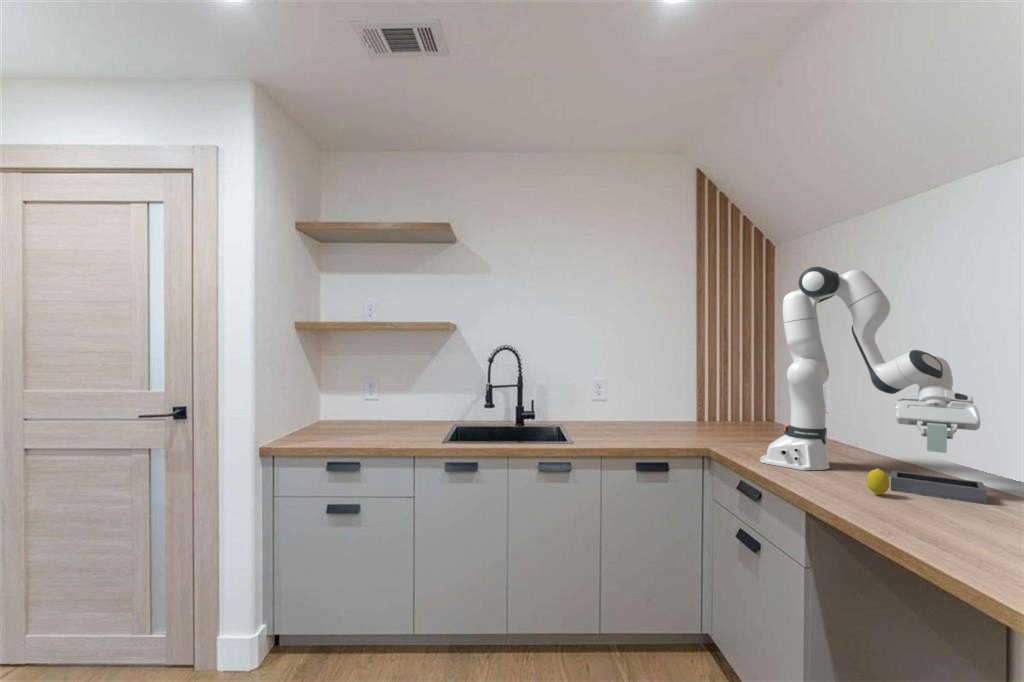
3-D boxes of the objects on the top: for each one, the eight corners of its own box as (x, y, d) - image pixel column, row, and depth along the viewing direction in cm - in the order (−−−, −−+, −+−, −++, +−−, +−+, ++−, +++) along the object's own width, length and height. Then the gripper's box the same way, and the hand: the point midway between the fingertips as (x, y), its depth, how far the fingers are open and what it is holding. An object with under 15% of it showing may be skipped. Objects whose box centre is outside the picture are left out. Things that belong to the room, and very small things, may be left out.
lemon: (867, 491, 161) (868, 465, 161) (889, 495, 157) (890, 468, 157) (865, 495, 156) (865, 468, 156) (888, 499, 153) (888, 471, 153)
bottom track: (890, 490, 162) (890, 477, 162) (891, 482, 170) (891, 470, 170) (986, 504, 149) (987, 490, 149) (982, 495, 157) (982, 482, 157)
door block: (927, 451, 159) (927, 424, 159) (926, 448, 163) (927, 422, 163) (946, 453, 156) (947, 426, 156) (945, 450, 160) (946, 424, 160)
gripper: (895, 392, 171) (894, 426, 163) (979, 396, 159) (982, 434, 151) (895, 404, 175) (894, 438, 167) (977, 410, 163) (980, 447, 155)
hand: (936, 436), depth 159 cm, fingers closed on door block, 4 cm apart
